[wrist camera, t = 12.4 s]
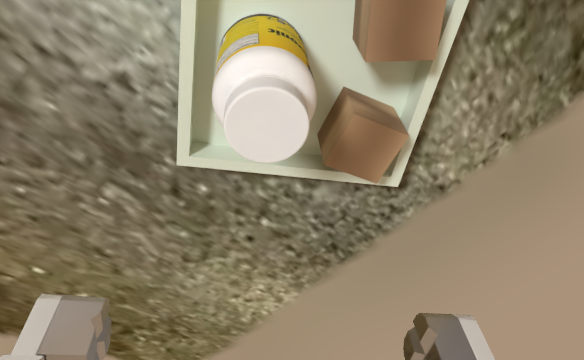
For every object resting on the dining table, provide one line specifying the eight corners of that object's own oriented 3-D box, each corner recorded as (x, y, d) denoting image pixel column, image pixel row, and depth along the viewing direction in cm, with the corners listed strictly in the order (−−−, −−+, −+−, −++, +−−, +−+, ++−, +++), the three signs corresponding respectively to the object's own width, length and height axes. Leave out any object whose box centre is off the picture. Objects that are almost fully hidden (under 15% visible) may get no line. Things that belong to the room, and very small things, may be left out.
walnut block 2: (317, 134, 32) (324, 165, 29) (343, 86, 30) (354, 114, 27) (364, 151, 33) (376, 183, 30) (393, 107, 31) (409, 136, 28)
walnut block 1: (352, 38, 28) (365, 62, 25) (357, -30, 26) (372, -14, 23) (414, 36, 29) (435, 60, 25) (425, -32, 26) (449, -16, 23)
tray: (181, 145, 33) (176, 164, 31) (190, -112, 24) (184, -109, 22) (389, 168, 35) (397, 187, 33) (470, -58, 26) (488, -51, 24)
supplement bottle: (320, 65, 29) (345, 144, 21) (250, 106, 31) (250, 194, 23) (276, -9, 26) (285, 49, 18) (201, 40, 28) (181, 114, 20)
